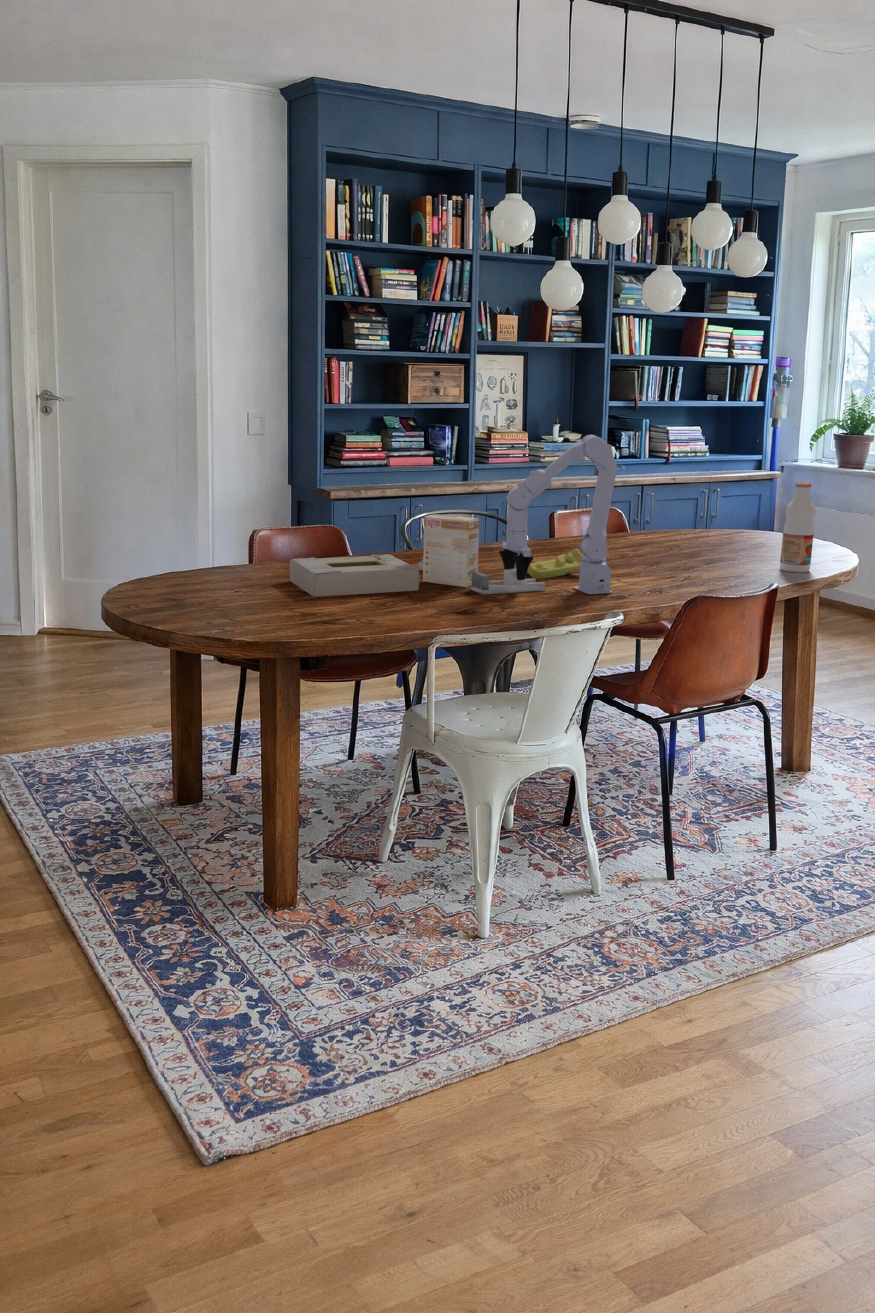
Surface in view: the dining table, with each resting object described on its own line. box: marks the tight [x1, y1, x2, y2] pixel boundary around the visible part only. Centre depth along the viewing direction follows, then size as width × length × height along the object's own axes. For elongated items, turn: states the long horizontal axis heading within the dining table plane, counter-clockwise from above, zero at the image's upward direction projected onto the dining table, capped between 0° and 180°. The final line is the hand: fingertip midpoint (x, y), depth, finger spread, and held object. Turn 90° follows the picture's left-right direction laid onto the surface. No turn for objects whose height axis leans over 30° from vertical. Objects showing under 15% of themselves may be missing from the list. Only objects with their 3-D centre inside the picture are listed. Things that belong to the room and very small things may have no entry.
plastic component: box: [527, 548, 583, 580], centre depth 363 cm, size 20×7×10 cm
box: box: [289, 554, 420, 598], centre depth 338 cm, size 23×8×32 cm
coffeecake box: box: [422, 513, 480, 588], centre depth 344 cm, size 15×7×20 cm, turn 59°
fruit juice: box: [779, 481, 816, 573], centre depth 376 cm, size 9×9×28 cm
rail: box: [471, 571, 546, 595], centre depth 337 cm, size 7×20×5 cm, turn 113°
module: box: [503, 568, 525, 585], centre depth 338 cm, size 4×5×5 cm
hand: (515, 577), depth 338 cm, fingers open, 7 cm apart
